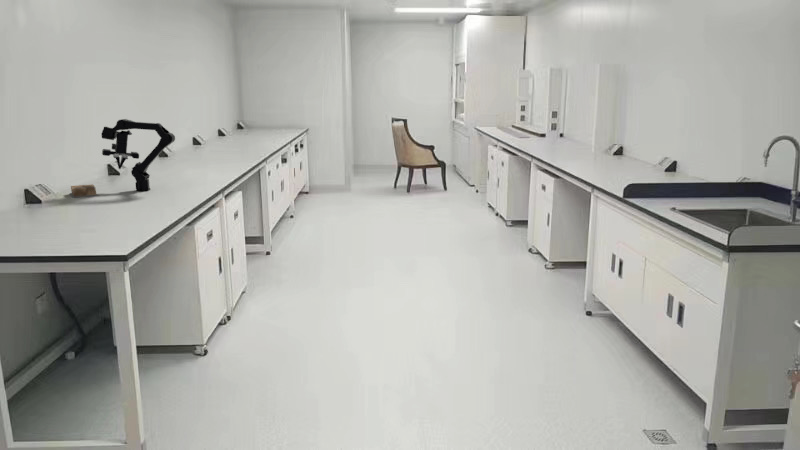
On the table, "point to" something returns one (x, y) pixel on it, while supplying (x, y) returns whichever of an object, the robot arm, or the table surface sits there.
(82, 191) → the walnut block
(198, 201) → the table surface
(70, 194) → the mat
